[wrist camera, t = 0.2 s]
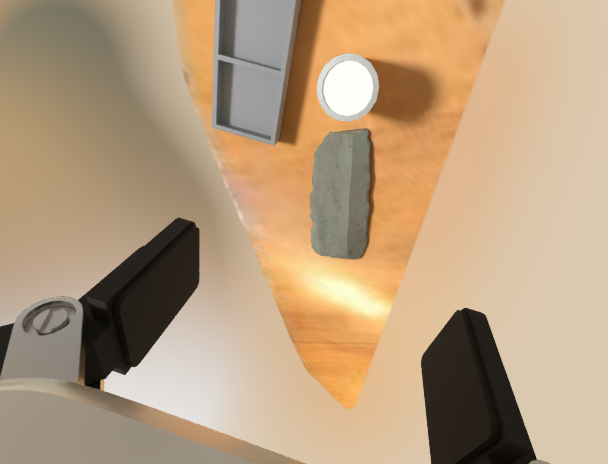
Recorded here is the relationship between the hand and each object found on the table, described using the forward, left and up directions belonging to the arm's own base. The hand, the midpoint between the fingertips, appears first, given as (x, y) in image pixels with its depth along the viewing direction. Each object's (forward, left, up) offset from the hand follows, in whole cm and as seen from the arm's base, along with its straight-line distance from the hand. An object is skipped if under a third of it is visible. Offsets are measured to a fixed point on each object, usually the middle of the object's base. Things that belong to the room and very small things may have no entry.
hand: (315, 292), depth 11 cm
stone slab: (+15, 0, -36) cm, 39 cm away
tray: (-1, -16, -36) cm, 39 cm away
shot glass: (-2, -3, -36) cm, 36 cm away
